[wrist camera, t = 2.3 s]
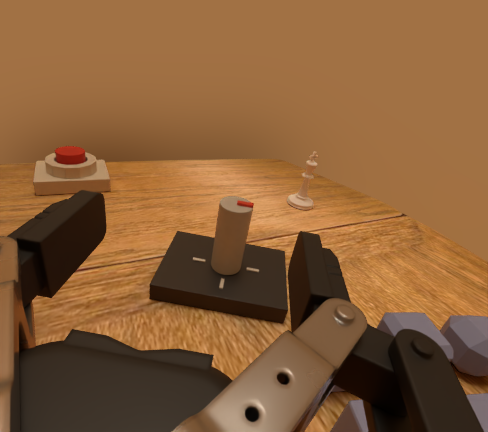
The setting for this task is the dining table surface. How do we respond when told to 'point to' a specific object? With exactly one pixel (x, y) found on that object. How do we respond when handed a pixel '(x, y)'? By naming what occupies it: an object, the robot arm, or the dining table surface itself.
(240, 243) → the knob
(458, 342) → the blocks
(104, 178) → the box
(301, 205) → the chess piece
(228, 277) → the panel
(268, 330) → the dining table surface
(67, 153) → the button
